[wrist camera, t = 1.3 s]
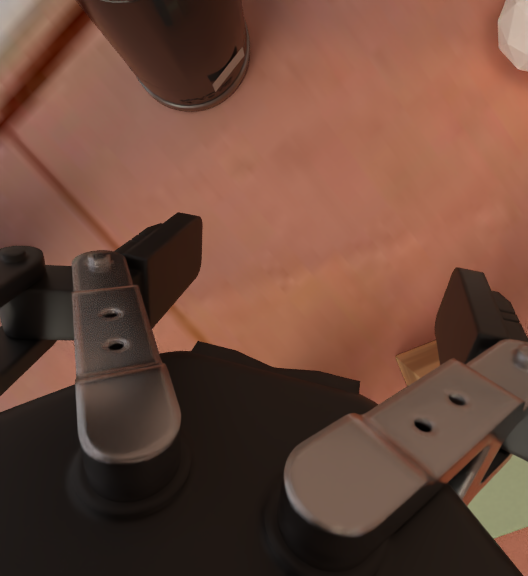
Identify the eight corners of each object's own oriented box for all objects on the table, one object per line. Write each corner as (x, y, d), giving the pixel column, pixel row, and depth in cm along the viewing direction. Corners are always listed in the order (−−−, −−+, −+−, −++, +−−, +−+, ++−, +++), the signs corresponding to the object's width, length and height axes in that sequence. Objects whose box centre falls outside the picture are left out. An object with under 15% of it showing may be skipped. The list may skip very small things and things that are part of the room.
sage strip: (328, 507, 35) (329, 509, 35) (587, 411, 34) (590, 412, 33) (360, 582, 36) (361, 585, 35) (619, 491, 34) (622, 493, 34)
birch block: (394, 355, 34) (438, 393, 24) (448, 334, 34) (515, 364, 24) (415, 407, 34) (467, 466, 24) (470, 387, 34) (545, 438, 24)
